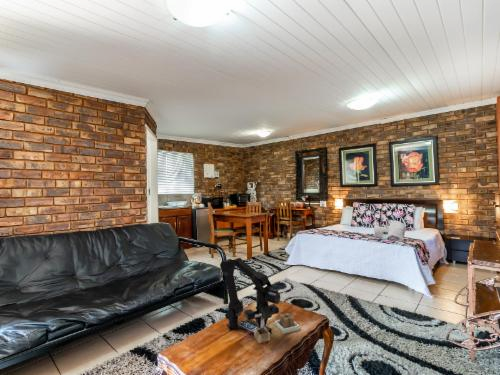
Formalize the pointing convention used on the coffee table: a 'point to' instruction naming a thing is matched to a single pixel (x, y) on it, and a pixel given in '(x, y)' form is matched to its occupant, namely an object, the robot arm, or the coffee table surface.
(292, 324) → the walnut block
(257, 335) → the beige square frame
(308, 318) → the coffee table surface
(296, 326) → the tray
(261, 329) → the cylinder
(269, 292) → the robot arm
